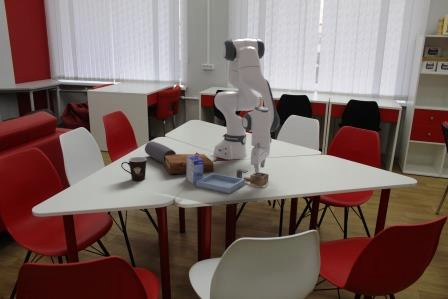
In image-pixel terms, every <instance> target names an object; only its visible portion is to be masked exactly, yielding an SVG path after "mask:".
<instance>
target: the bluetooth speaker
mask: <svg viewBox="0 0 448 299" xmlns="http://www.w3.org/2000/svg"><path fill="white" fill-rule="evenodd" d="M144 152H145V153H146V155H148V156H149V157H151V158H153V159H154V160H155V161H157V162H159V163H161V162H162V163H161V164H163V162H164V163H165V157H164V155H165V154H167V155H168V154H177V153H176V151H175V150H174V149H171V148H170V147H169V146H166V145H164V144H162V143H159V142H156V141H148V142H147V143H146V144H145V147H144Z"/></svg>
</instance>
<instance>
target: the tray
mask: <svg viewBox="0 0 448 299" xmlns="http://www.w3.org/2000/svg"><path fill="white" fill-rule="evenodd" d="M245 181H246V180H245V179H243V178H237V176H236V177H235V176H231V175H226V174H220V173H216V172H211V174H208V175H206V176H203V178H202V179H199V180H197V181H196V184H195V187H196V188H200V189H205V190H209V191H214V192H218V193H223V194H227V195H231V194H232V193H234V192H235V191H237V190H239V189H240V188H242V187H244V186H246V184H245Z"/></svg>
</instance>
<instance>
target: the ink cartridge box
mask: <svg viewBox="0 0 448 299" xmlns="http://www.w3.org/2000/svg"><path fill="white" fill-rule="evenodd" d="M196 154H197V155H198V156H199V154H200V153H198V152H195V156H187V173H186V174H185V175H186V178H187V179H186V180H187V181H188V182H190V184H192V185H194V186H195V185H196V181H197V180H199V179H202V178H204V173H203V160H202V159H201V158H199V157H198V156H196Z"/></svg>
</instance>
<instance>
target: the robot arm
mask: <svg viewBox="0 0 448 299" xmlns="http://www.w3.org/2000/svg"><path fill="white" fill-rule="evenodd" d="M265 47H266V46H265V43H264V41H263V40H262V39H258V38H254V39H253V38H237V39H228V40H227V39H226V40H225V41H224V43H223V44H222V48H221V50H222V55H223V58H224V59H225V60H226V61H228V72H227V73H228V74H227V75H228V76H227V80H228V83H229V84H230V85H231V86H232V87H234V88H235V89H236V88H237V89H238V90H236V91H235V90H233V91H232V90H231V91H229V90H228V91H227V90H226V91H221V92H220V91H219V92H218V93H216V95H215V97H214V105H215V108H216V109H217V110H219V111H220V112H221V113H222V114H223V116H224V118H225V121H226V122H225V124H226V133H225V134H223V135H222V138H223V140H221V141H220V142H218V143H217V144H216V145H215V146H214V149H213V153H210V156H213V157H218V158H221V159H224V160H239V159H240V160H241V159H245V158H247V156H248V155H247V154H248V153H247V148H246V146H247V145H246V143H247V133H246V131H247V132H249V133H250V132H252V133H251V146H252V147H253V148H252V149H251V154H250V165H252V166H253V168H254V173H258V172H260V168H261V169H263V168H265V166H266V165H265V163H266V160H267V158H268V157H269V155H270V149H271V143H272V138H271V132H272V133H273V132H275V131H277V129H278V128H279V126H280V123H281V119H280V116H279V114H278V111H277V108H276V105H275V100H274V96H273V93H272V90H271V86H270V82H269V81H268V79H266V78H265V77H264V74H263V73H262V68H261V66H262V65H261V59H262V58H263V57H264V55H265V52H266V51H265V50H266V48H265ZM256 92H257V93H256ZM258 93H259V94H260V95H261V98H262V100H263V101H262V102H263V105H264V106H262V105H261V106H259V105H260V97H259V95H258ZM239 111H240V112H241V111H243V112H244V111H245V112H246V113H245V114H244V115H242V117H241V116H240V115H238V114H236V112H239ZM248 111H249V112H248Z"/></svg>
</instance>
